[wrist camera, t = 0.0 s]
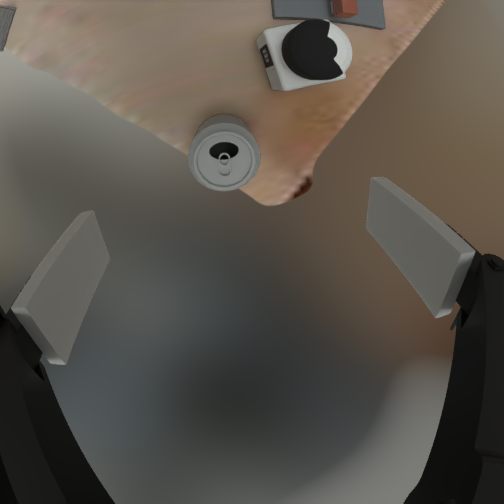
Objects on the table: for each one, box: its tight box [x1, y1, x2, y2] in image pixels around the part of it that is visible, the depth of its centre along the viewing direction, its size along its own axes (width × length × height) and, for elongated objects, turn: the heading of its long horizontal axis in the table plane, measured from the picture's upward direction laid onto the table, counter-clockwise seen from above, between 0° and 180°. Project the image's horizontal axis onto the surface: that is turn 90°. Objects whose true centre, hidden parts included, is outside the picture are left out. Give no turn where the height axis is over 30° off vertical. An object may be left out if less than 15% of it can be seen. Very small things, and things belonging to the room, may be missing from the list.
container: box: [256, 19, 352, 91], centre depth 26 cm, size 8×8×13 cm
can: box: [188, 114, 261, 191], centre depth 32 cm, size 8×8×12 cm
